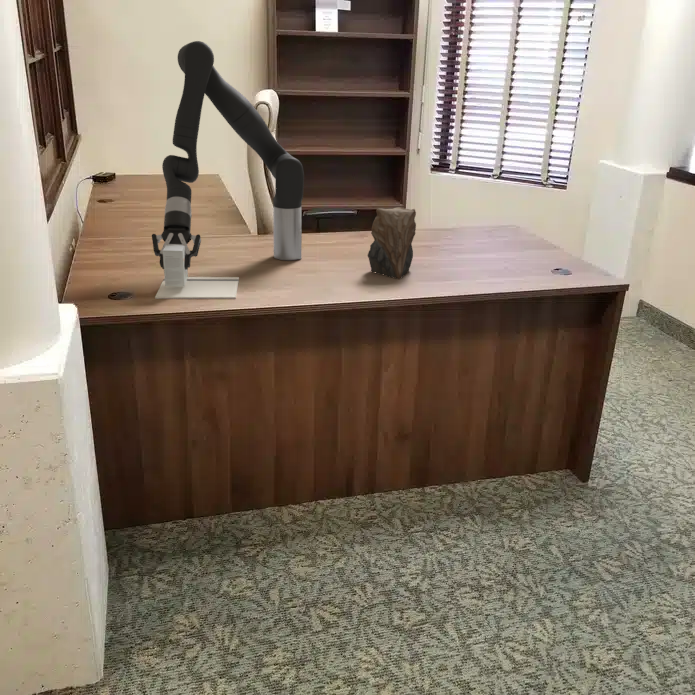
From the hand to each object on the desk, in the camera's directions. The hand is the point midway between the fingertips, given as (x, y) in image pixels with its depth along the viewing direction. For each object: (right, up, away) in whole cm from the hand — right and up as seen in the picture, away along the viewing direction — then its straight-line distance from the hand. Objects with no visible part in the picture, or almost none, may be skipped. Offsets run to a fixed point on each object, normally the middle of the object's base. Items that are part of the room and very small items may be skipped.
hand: (174, 268), depth 193 cm
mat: (+6, -5, +6) cm, 9 cm away
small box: (0, -4, +4) cm, 5 cm away
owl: (+63, +1, +26) cm, 68 cm away
